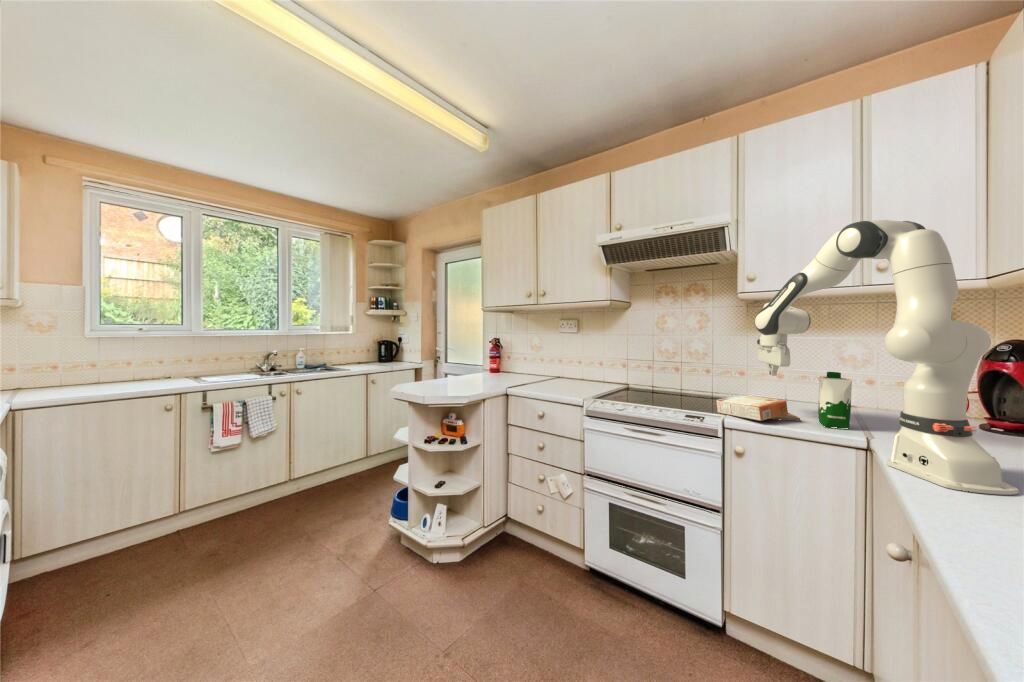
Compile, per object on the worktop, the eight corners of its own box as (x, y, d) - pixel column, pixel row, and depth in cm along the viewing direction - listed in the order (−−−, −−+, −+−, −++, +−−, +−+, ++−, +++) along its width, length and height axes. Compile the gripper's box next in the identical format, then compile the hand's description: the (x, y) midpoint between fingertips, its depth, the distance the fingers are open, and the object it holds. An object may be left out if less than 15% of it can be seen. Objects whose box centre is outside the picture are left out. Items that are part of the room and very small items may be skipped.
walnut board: (800, 421, 146) (800, 418, 146) (754, 419, 150) (754, 416, 150) (776, 409, 166) (776, 407, 166) (736, 407, 169) (736, 405, 169)
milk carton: (844, 425, 141) (847, 372, 140) (853, 431, 133) (855, 375, 132) (815, 422, 145) (817, 371, 144) (821, 428, 137) (823, 373, 136)
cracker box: (788, 415, 145) (742, 407, 165) (787, 400, 145) (740, 393, 165) (761, 422, 141) (716, 412, 161) (759, 406, 141) (715, 399, 161)
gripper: (796, 342, 141) (794, 379, 141) (771, 340, 160) (770, 372, 161) (777, 342, 142) (775, 378, 143) (754, 340, 162) (753, 371, 163)
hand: (772, 375), depth 152 cm, fingers closed
